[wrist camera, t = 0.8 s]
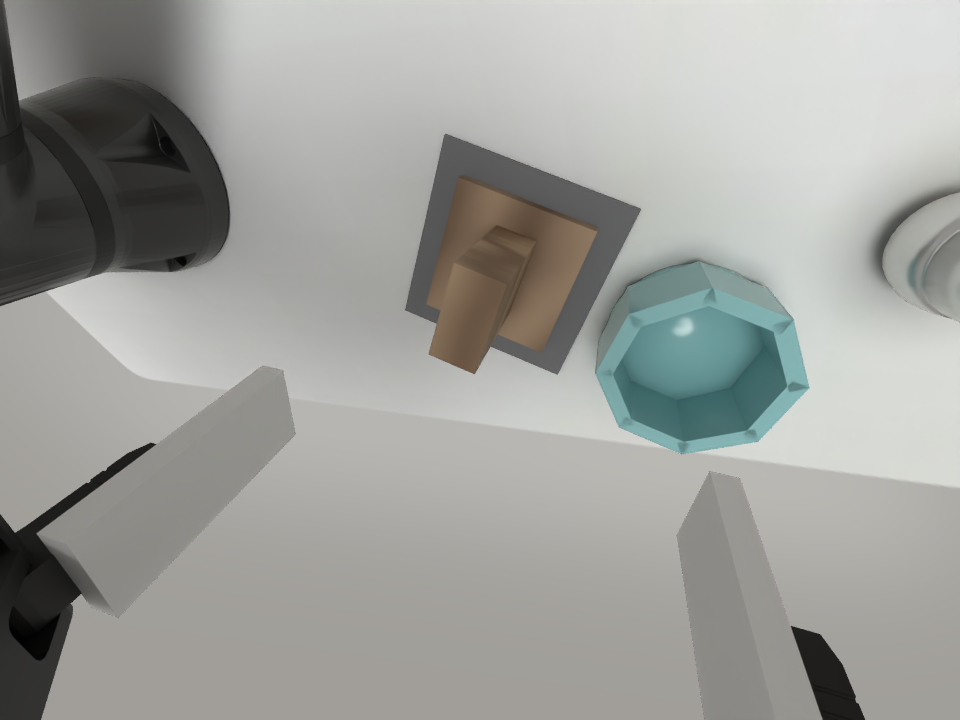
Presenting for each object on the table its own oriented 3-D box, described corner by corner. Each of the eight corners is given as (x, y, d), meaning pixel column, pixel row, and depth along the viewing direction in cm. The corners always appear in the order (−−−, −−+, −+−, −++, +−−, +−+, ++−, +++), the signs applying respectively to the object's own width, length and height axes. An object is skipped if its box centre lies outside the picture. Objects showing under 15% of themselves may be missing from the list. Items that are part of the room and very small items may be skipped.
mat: (406, 308, 37) (405, 310, 37) (446, 134, 29) (444, 134, 29) (557, 372, 36) (557, 374, 35) (640, 208, 28) (640, 209, 28)
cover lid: (431, 298, 35) (370, 357, 27) (463, 175, 30) (400, 200, 21) (544, 346, 34) (517, 422, 26) (598, 227, 29) (587, 275, 20)
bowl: (582, 366, 35) (574, 408, 30) (650, 238, 29) (656, 265, 24) (712, 420, 34) (727, 474, 29) (811, 301, 28) (852, 342, 23)
